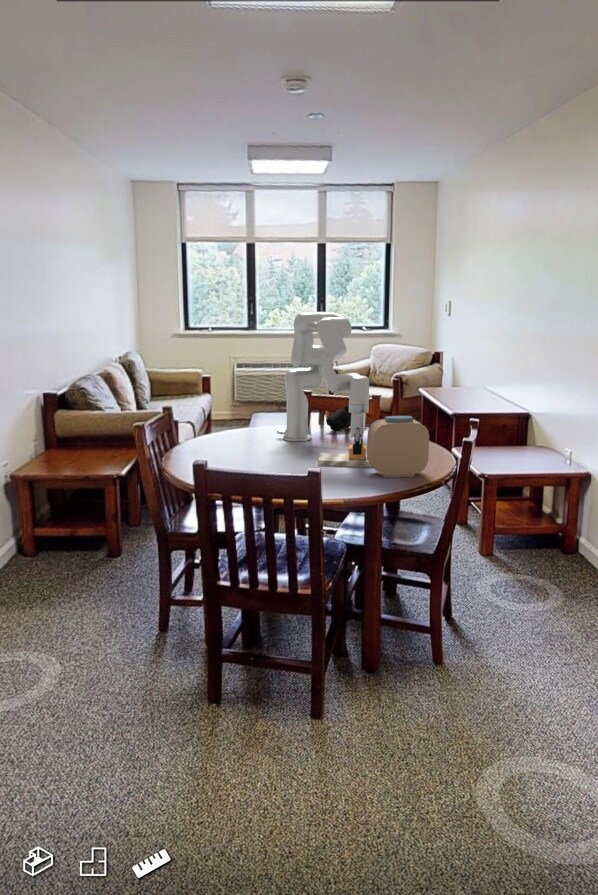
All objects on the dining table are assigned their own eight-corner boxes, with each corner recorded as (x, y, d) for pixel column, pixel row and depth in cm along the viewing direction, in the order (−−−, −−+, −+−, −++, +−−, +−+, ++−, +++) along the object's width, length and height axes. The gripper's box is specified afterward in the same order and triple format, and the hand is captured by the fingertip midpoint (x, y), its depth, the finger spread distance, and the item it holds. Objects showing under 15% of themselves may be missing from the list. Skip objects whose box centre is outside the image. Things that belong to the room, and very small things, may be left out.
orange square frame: (348, 458, 266) (349, 448, 265) (349, 454, 272) (350, 444, 271) (365, 459, 265) (365, 449, 264) (366, 455, 271) (366, 445, 270)
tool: (329, 444, 331) (321, 417, 324) (359, 421, 343) (352, 394, 336) (342, 447, 325) (333, 419, 319) (371, 423, 337) (364, 396, 331)
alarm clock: (419, 470, 258) (422, 413, 253) (427, 476, 249) (430, 418, 244) (366, 471, 256) (367, 414, 251) (372, 478, 246) (373, 419, 241)
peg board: (317, 465, 265) (318, 445, 263) (320, 457, 276) (321, 438, 275) (375, 467, 262) (375, 446, 260) (375, 459, 274) (376, 440, 272)
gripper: (350, 404, 273) (349, 446, 277) (347, 411, 256) (346, 456, 260) (369, 404, 272) (368, 446, 276) (367, 412, 255) (366, 457, 259)
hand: (357, 451), depth 268 cm, fingers open, 9 cm apart
